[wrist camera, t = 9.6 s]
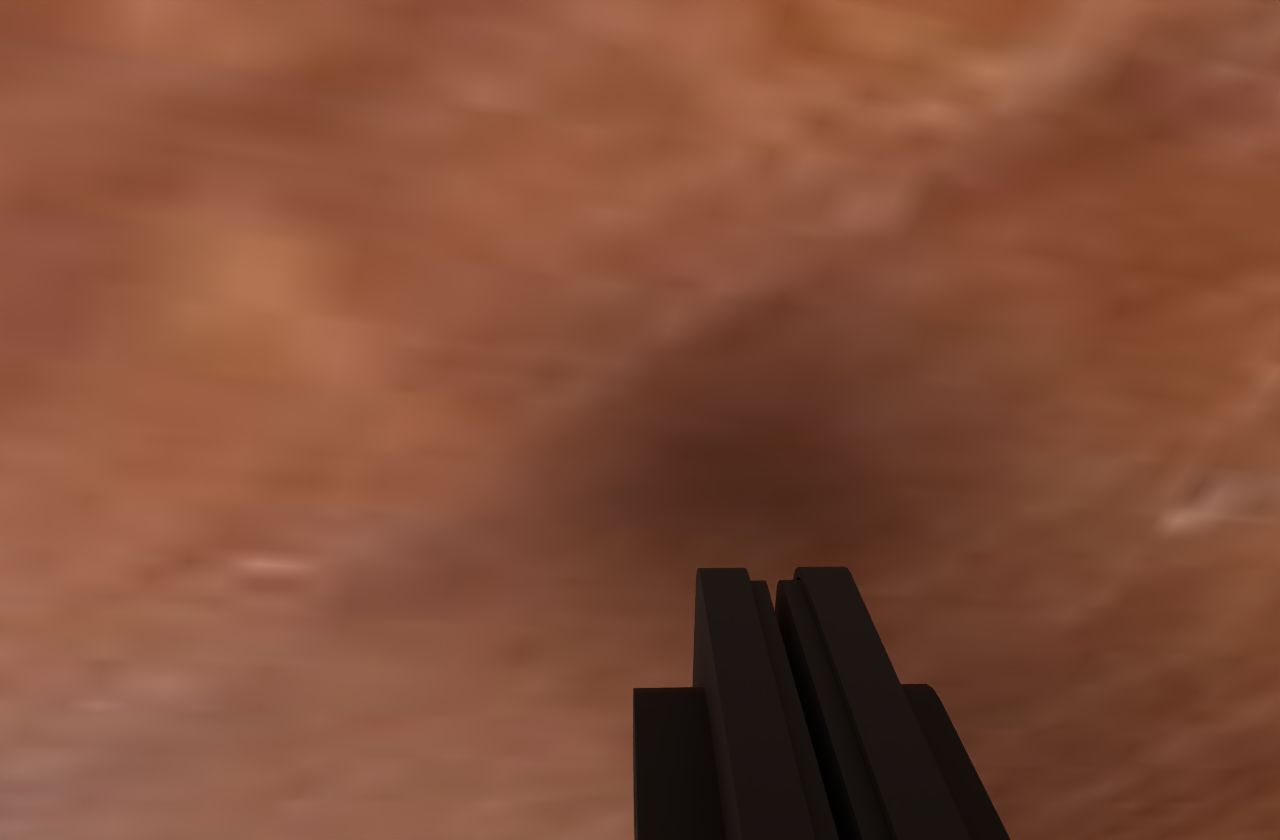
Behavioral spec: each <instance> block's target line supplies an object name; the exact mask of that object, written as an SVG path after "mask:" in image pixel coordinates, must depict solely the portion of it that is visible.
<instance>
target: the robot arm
mask: <svg viewBox="0 0 1280 840" xmlns="http://www.w3.org/2000/svg"><path fill="white" fill-rule="evenodd" d="M633 773H634V835H635V840H1010V838H1009V836H1008V834H1007V832H1006V830H1005V828H1004V826H1003V824H1002V822H1001V820H1000V818H999V816H998V814H997V812H996V810H995V808H994V806H993V804H992V802H991V800H990V798H989V796H988V794H987V792H986V790H985V788H984V786H983V784H982V782H981V780H980V778H979V776H978V774H977V772H976V770H975V768H974V766H973V764H972V762H971V760H970V758H969V756H968V754H967V752H966V750H965V748H964V746H963V744H962V742H961V740H960V738H959V736H958V734H957V732H956V730H955V728H954V726H953V724H952V722H951V720H950V718H949V716H948V714H947V712H946V710H945V708H944V706H943V704H942V702H941V700H940V698H939V697H938V695H937V694H936V692H935V691H934V689H933V688H932V687H930V686H928V685H927V684H900V682H899V679H898V677H897V675H896V673H895V670H894V668H893V666H892V664H891V662H890V659H889V657H888V655H887V653H886V651H885V648H884V646H883V644H882V642H881V639H880V637H879V635H878V633H877V631H876V628H875V626H874V624H873V622H872V619H871V617H870V615H869V613H868V611H867V608H866V606H865V604H864V602H863V599H862V597H861V595H860V593H859V591H858V588H857V586H856V584H855V582H854V580H853V577H852V575H851V573H850V571H849V570H848V568H846V567H797V569H796V570H795V573H794V578H793V580H780V581H779V582H778V585H777V591H776V604H775V611H774V607H773V604H772V600H771V597H770V593H769V590H768V586H767V583H766V581H764V580H761V581H750V578H749V575H748V571H747V569H746V568H698V570H697V576H696V598H695V630H694V661H693V687H686V688H634V689H633Z"/></svg>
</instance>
